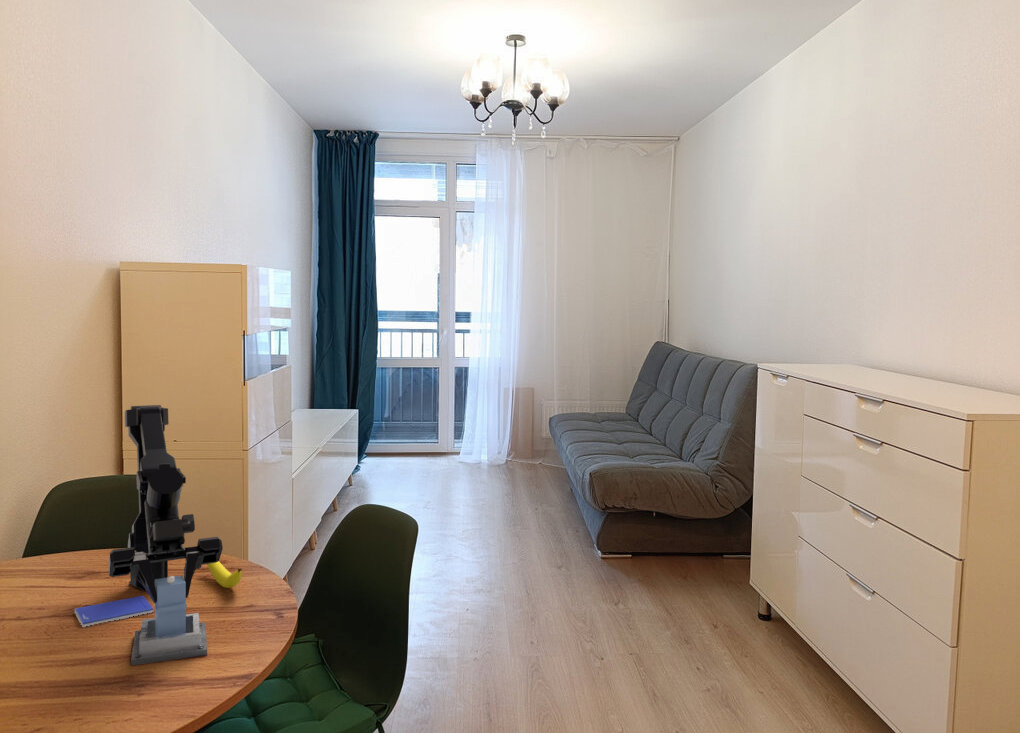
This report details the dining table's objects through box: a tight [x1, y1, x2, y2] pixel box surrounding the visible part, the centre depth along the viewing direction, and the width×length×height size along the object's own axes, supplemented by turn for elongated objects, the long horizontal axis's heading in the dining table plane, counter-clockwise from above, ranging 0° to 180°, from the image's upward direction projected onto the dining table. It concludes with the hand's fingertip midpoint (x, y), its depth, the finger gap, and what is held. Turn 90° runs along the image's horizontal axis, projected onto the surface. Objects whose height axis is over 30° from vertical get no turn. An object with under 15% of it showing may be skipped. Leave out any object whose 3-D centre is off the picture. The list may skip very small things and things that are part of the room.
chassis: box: [130, 612, 208, 667], centre depth 137 cm, size 12×12×4 cm
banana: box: [207, 560, 243, 589], centre depth 166 cm, size 3×19×6 cm, turn 41°
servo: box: [154, 575, 188, 637], centre depth 137 cm, size 6×5×11 cm
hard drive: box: [74, 595, 154, 628], centre depth 150 cm, size 2×8×12 cm
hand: (171, 599), depth 135 cm, fingers open, 5 cm apart
